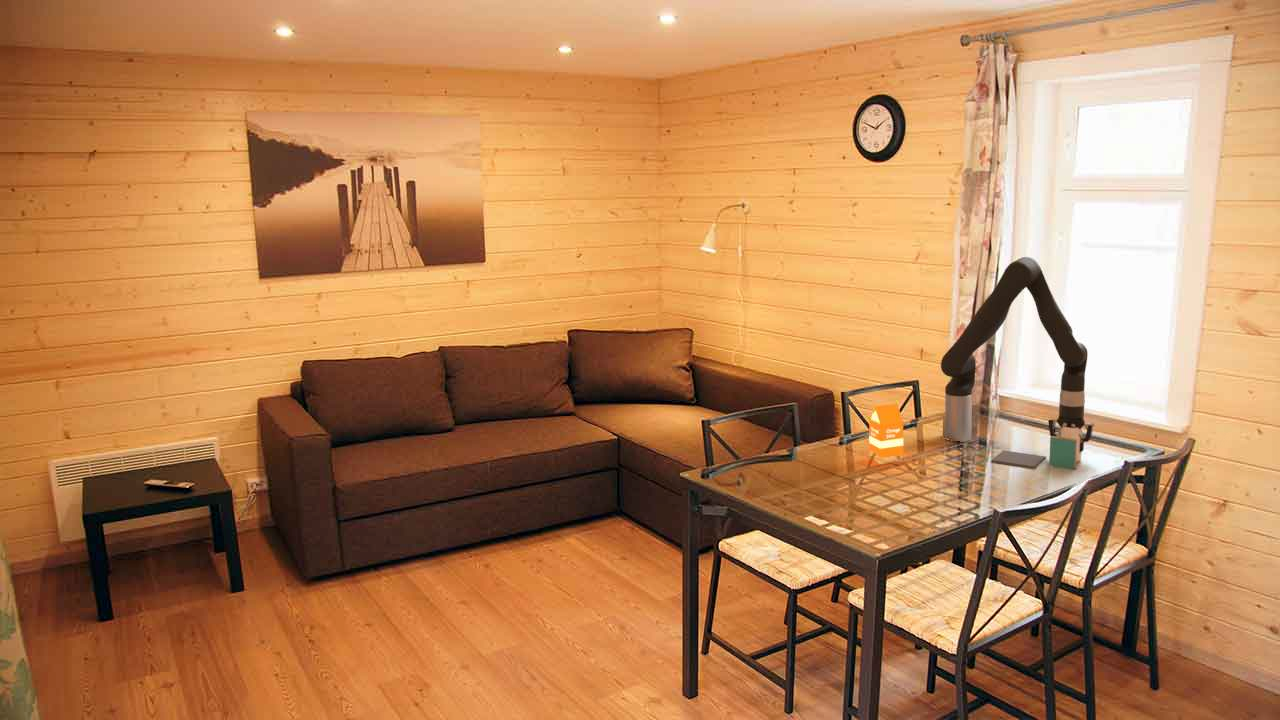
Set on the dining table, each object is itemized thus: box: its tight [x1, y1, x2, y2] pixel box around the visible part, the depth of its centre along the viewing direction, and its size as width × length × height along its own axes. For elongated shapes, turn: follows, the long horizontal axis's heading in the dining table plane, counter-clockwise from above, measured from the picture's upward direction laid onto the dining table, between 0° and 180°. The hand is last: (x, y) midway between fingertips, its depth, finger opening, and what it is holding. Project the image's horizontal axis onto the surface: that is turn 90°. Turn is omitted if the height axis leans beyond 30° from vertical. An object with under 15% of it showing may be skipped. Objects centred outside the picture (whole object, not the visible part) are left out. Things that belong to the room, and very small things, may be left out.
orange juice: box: [868, 403, 904, 458], centre depth 312 cm, size 8×9×20 cm
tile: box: [1048, 436, 1077, 470], centre depth 296 cm, size 8×1×10 cm, turn 50°
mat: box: [991, 450, 1047, 470], centre depth 306 cm, size 14×12×1 cm
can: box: [1061, 426, 1083, 463], centre depth 302 cm, size 6×6×12 cm
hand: (1069, 450), depth 303 cm, fingers closed on can, 5 cm apart
